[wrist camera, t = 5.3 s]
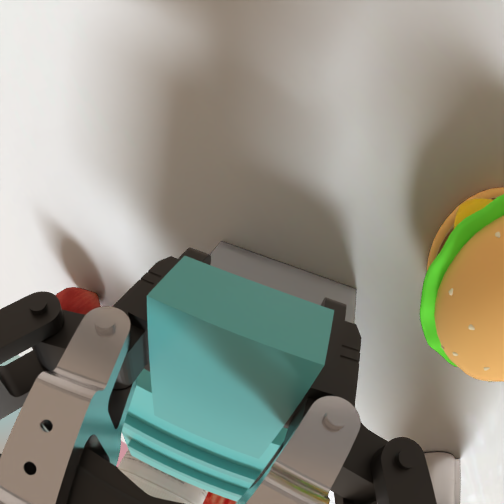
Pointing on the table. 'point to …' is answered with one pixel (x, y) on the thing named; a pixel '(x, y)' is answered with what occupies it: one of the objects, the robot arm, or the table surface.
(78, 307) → the red round fruit
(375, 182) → the table surface
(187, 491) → the supplement tub
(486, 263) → the hamburger
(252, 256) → the tub
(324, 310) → the lid
